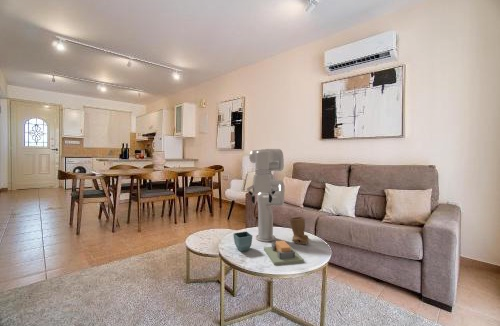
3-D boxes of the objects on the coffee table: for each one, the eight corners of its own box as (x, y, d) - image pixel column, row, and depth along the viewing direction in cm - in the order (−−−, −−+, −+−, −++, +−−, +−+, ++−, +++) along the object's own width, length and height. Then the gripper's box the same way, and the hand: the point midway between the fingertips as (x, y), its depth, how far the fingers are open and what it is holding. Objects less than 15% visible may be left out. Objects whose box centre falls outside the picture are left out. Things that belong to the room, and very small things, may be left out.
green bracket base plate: (263, 249, 146) (263, 242, 146) (289, 247, 150) (289, 240, 150) (274, 265, 127) (274, 256, 127) (303, 262, 130) (303, 253, 130)
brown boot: (290, 236, 171) (291, 214, 170) (308, 237, 167) (309, 215, 167) (287, 244, 156) (288, 220, 155) (307, 246, 153) (307, 221, 152)
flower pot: (238, 253, 141) (238, 237, 141) (232, 248, 149) (233, 233, 149) (252, 251, 145) (252, 235, 144) (246, 245, 153) (246, 231, 152)
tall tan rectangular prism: (275, 249, 143) (275, 241, 142) (283, 249, 144) (284, 240, 143) (281, 257, 133) (281, 247, 133) (290, 256, 134) (290, 247, 134)
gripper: (274, 171, 147) (274, 200, 148) (245, 172, 144) (245, 201, 145) (278, 173, 140) (278, 203, 141) (248, 173, 136) (248, 204, 137)
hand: (261, 202), depth 143 cm, fingers open, 9 cm apart
